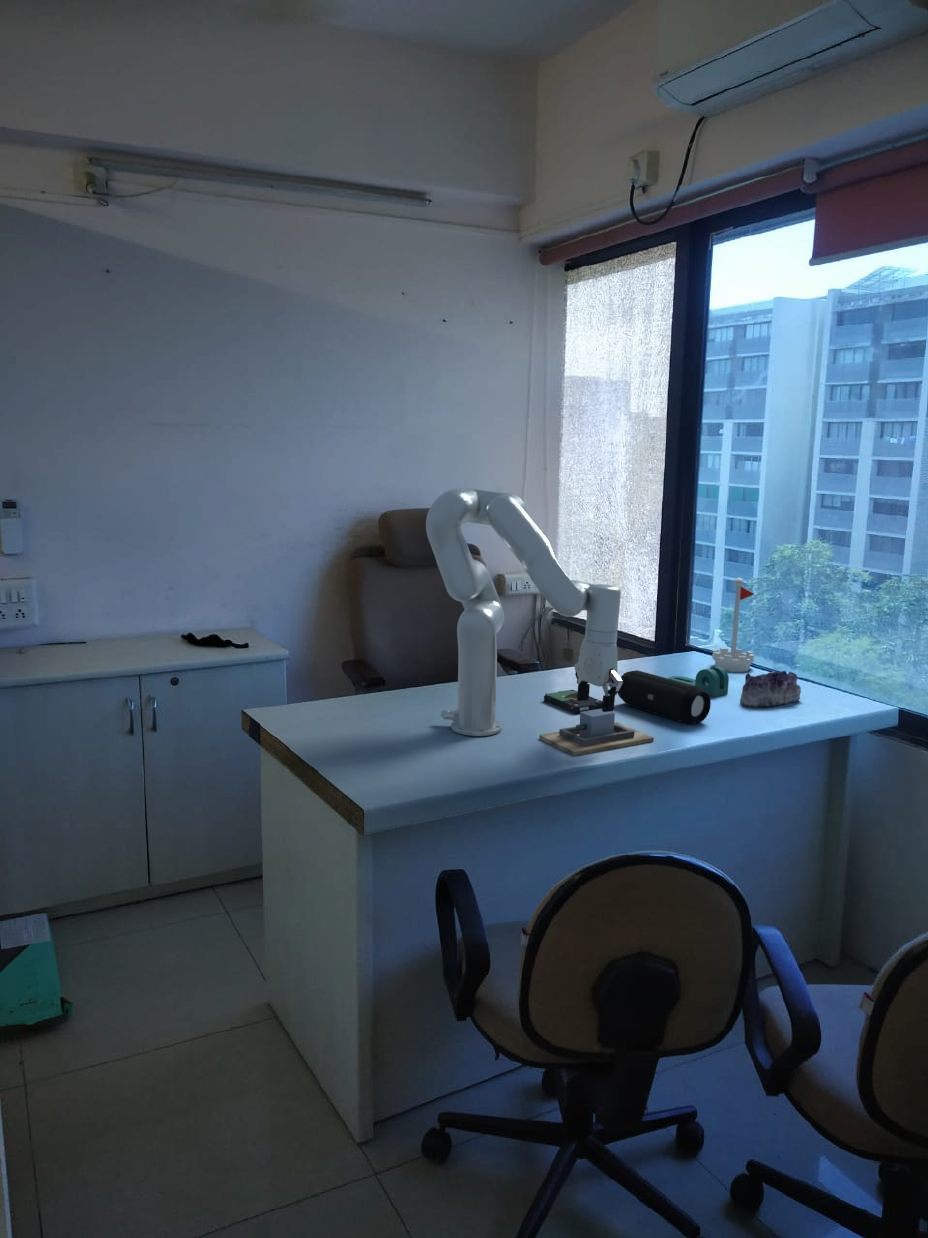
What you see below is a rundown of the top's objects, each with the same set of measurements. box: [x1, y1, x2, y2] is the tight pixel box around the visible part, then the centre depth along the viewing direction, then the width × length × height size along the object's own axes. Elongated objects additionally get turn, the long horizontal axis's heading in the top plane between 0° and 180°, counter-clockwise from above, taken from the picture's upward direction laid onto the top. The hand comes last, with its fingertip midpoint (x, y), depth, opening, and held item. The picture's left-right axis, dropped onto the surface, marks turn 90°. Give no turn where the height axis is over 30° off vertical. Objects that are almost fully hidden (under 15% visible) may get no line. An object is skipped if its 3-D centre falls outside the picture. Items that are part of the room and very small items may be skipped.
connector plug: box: [575, 709, 616, 738], centre depth 222 cm, size 4×11×6 cm, turn 121°
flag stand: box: [711, 577, 755, 673], centre depth 298 cm, size 13×13×30 cm
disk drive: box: [543, 689, 603, 715], centre depth 253 cm, size 10×3×15 cm
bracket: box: [667, 666, 730, 699], centre depth 272 cm, size 18×7×8 cm, turn 41°
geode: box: [739, 670, 802, 709], centre depth 260 cm, size 20×12×10 cm, turn 127°
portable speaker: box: [617, 669, 712, 725], centre depth 246 cm, size 26×10×10 cm, turn 37°
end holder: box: [539, 721, 655, 757], centre depth 223 cm, size 14×24×2 cm, turn 120°
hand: (594, 705), depth 222 cm, fingers open, 9 cm apart
